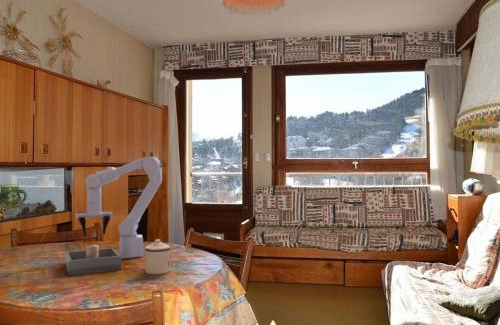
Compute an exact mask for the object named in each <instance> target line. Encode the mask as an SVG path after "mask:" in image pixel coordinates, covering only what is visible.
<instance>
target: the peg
mask: <svg viewBox="0 0 500 325" xmlns="http://www.w3.org/2000/svg"><path fill="white" fill-rule="evenodd" d="M99 249H100V246H99V244H91V245H86V249H85V250H86V259H92V258H99Z"/></svg>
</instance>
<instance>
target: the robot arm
mask: <svg viewBox="0 0 500 325" xmlns="http://www.w3.org/2000/svg"><path fill="white" fill-rule="evenodd" d="M135 170H144V171H145V173H146V174H147V177H148V180H149V181H148V183H147V184H146V186H145V187H144V189H143V190H142V192H141V193H140V196H139V197H138V199H137V201H136V203H135V204H134V205H133V208H132V209H131V211H130V212H129V214H128V215H127V216H126V218H125V219H124V220H123V221H121V222H120V223H119V225H118V227H117V228H118V230H117V231H118V233H119V254H120V255H121V260H123V259H131V258H132V259H133V258H137V257H138V258H140V257H142V258H143V257H144V238H143V234H138V233H137V230H138V228H139V222H140V221H141V218H142V216H143V214H144V213H145V211H146V209H147V207H148V206H149V204H150V203H151V201H152V200H153V198H154V196H155V194H156V193H157V191H158V190H159V187H160V186H161V184H162V183H163V165H162V163H161V161H160V159H159V158H157V157H155V156H146V157H144V158H143V157H142V158H139V159H136V160H133V161H131V162H129V163H126V164H124V165H122V166H119V167H117V168H116V167H113V166H111V167H110V166H107V167H106V169H104V170H101V171H96V172H95V174H94V173H93V174H92V173H91V174H89V175H88V176H87V177H86V178H85V182H84V183H85V185H86V186H87V187H86V188H87V190H86V199H87V200H86V203H87V204H86V207H87V208H86V211H87V212H81V213H75V219H77V220H78V221H79V223H80V225H81V228H82V232H83V236H84V237H85V236H87V232H86V223H87V221H86V219H90V218H91V219H92V218H102V235H106V230H107V227H108V225H109V222H110V221H111V218H113V212H112V211H102V186H103V185H107V184H109V183H112V182H114V181H117V180H118V179H119V178H120V176H122V175H124V174H127V173H130V172H132V171H135Z"/></svg>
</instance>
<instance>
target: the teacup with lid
mask: <svg viewBox="0 0 500 325" xmlns="http://www.w3.org/2000/svg"><path fill="white" fill-rule="evenodd" d="M170 250H171V246H170V245H169V244H166V243H164V242H161V239H159V238H158V239H155V240H154V242H152V243H151V244H149V245H148V244H147V245H146V246H145V247H144V251H145V274H148V275H163V274H168V273H169V272H170V271H171V270H170V268H171V266H170V265H171V260H170V259H171V258H170V257H171V256H170V254H171V253H170V252H171V251H170Z"/></svg>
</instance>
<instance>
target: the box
mask: <svg viewBox="0 0 500 325" xmlns="http://www.w3.org/2000/svg"><path fill="white" fill-rule="evenodd" d="M64 253H65V254H64V256H65V257H64V259H65V260H64V264H65V268H66V271H67V274H68V276H76V275H85V274H86V275H87V274H93V273H95V274H96V273H101V272H102V273H103V272H110V271H120V270H122V259H121V255H120V252H118V251H117V250H116V249H115V248H114V247H105V248H99V258H92V259H86V249H83V250H74V251H65V252H64Z"/></svg>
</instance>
